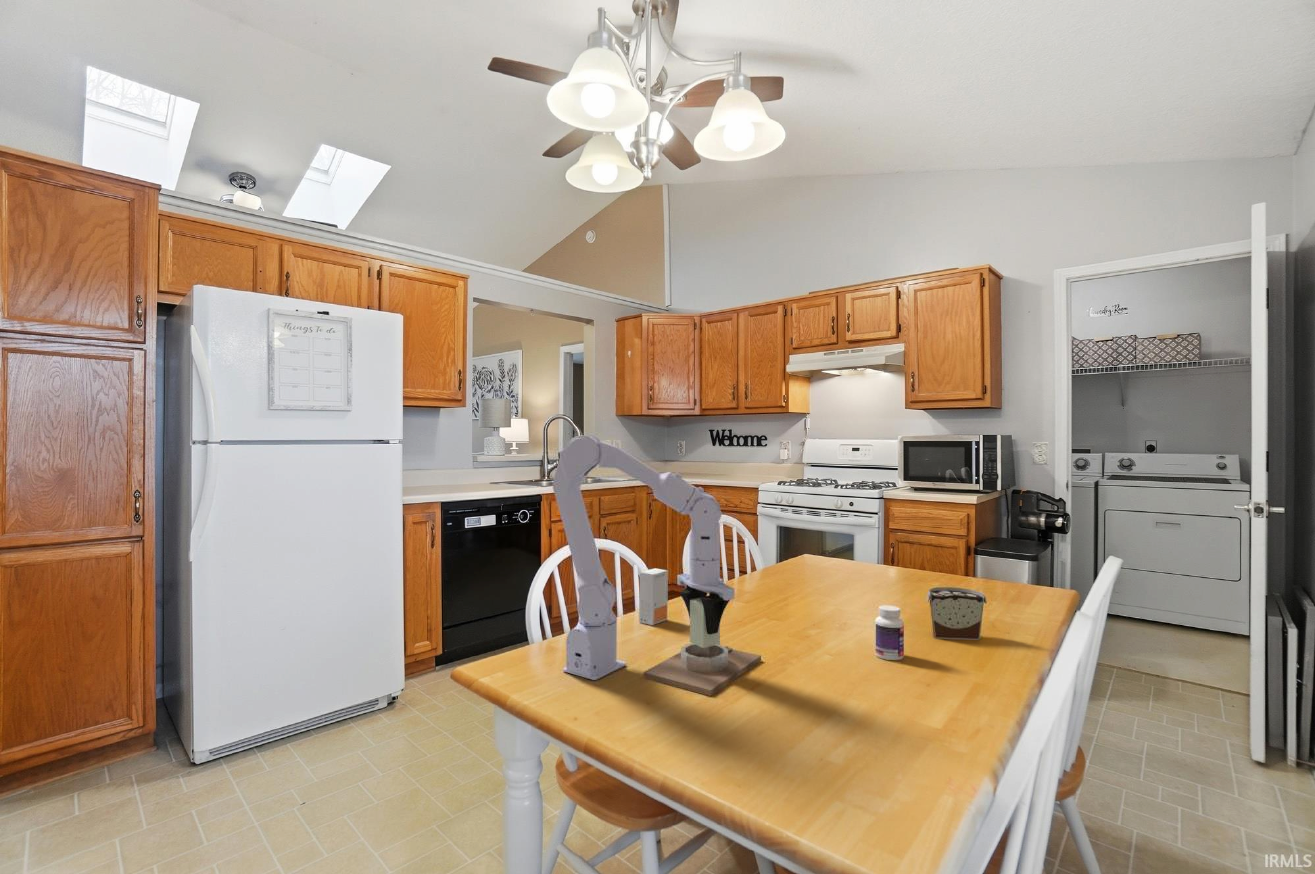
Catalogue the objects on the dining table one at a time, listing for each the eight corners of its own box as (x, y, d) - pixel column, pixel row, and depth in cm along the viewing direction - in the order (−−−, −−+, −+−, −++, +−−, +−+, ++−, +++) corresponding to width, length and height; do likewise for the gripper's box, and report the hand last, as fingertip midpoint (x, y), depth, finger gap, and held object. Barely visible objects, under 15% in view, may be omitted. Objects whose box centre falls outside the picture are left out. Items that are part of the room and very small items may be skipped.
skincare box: (652, 626, 141) (653, 574, 141) (638, 622, 143) (638, 572, 143) (668, 620, 146) (668, 570, 146) (654, 616, 148) (654, 567, 148)
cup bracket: (710, 696, 102) (710, 675, 102) (643, 677, 110) (643, 658, 110) (761, 660, 119) (761, 642, 119) (699, 646, 127) (699, 629, 127)
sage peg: (719, 643, 114) (719, 601, 114) (703, 647, 112) (703, 604, 112) (706, 638, 117) (706, 596, 118) (689, 642, 115) (689, 599, 115)
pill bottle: (906, 662, 118) (906, 612, 118) (877, 660, 119) (877, 610, 119) (901, 652, 124) (901, 604, 124) (873, 650, 125) (873, 603, 125)
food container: (974, 631, 138) (974, 587, 138) (986, 640, 131) (986, 593, 131) (918, 629, 139) (918, 585, 139) (927, 638, 133) (927, 592, 133)
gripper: (746, 561, 111) (746, 636, 111) (696, 550, 123) (696, 617, 123) (717, 566, 107) (717, 643, 107) (668, 553, 119) (668, 623, 119)
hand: (704, 630), depth 115 cm, fingers closed on sage peg, 4 cm apart
